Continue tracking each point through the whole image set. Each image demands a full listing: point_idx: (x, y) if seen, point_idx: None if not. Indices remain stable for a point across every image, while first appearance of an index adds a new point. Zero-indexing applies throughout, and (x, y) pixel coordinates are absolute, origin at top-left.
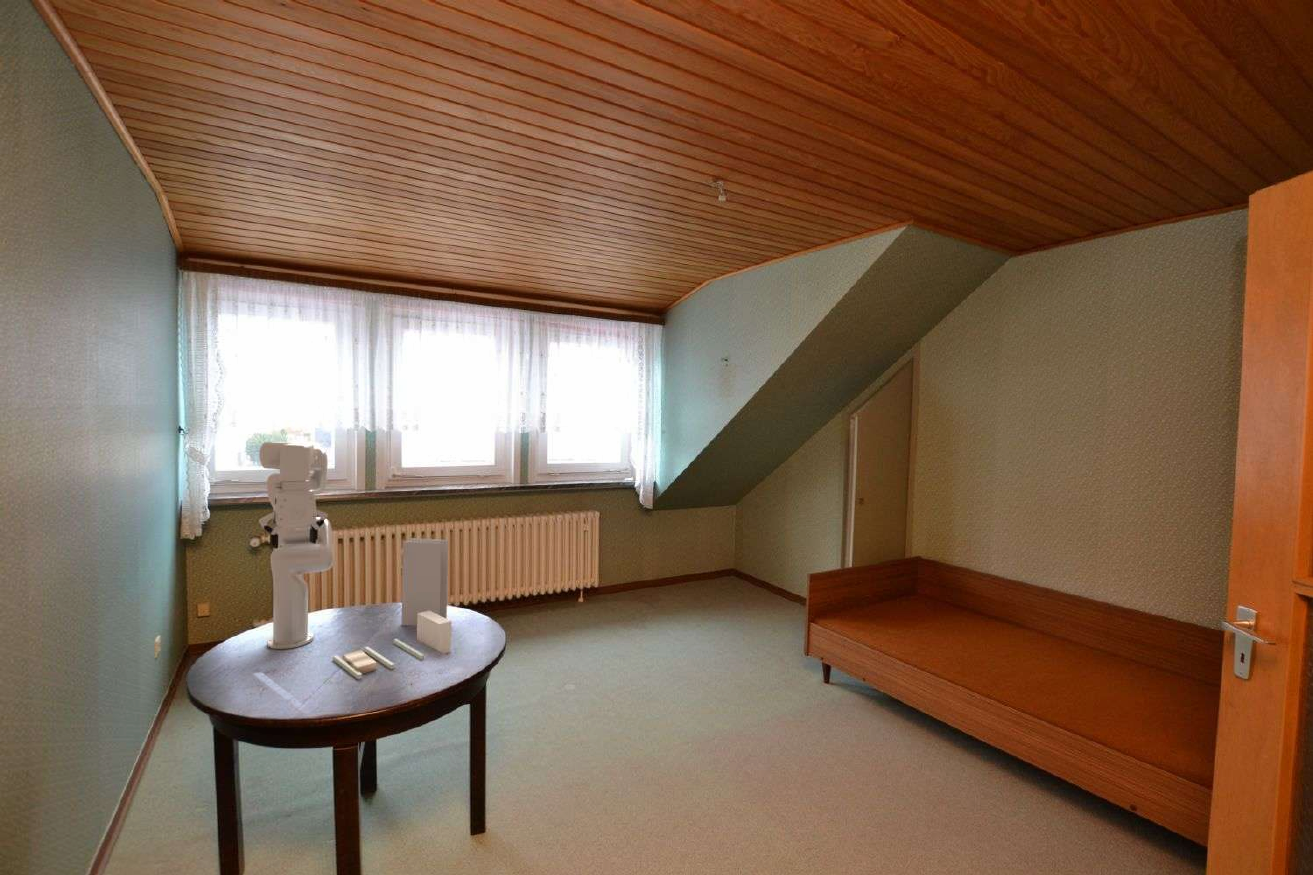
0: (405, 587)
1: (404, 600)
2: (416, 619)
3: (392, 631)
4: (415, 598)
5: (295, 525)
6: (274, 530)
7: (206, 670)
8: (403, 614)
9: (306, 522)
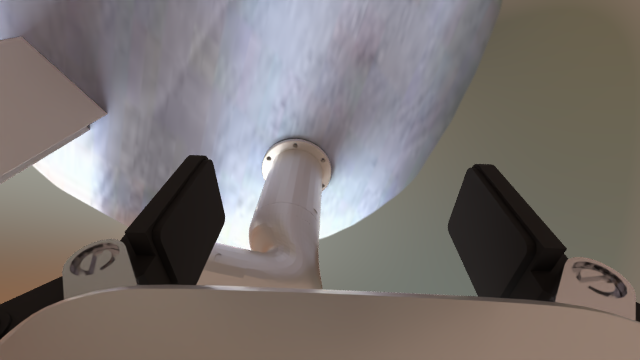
0: (29, 145)
1: (60, 131)
2: (64, 89)
3: (127, 91)
4: (25, 110)
5: (391, 297)
6: (614, 302)
7: (430, 142)
8: (87, 119)
9: (186, 323)
